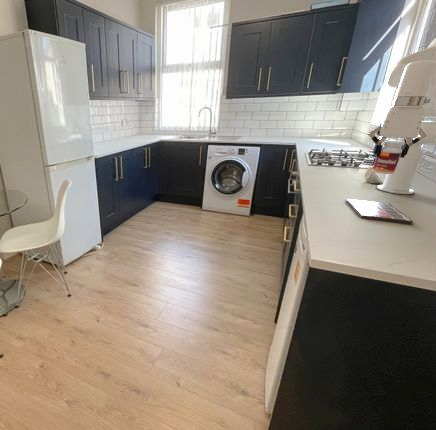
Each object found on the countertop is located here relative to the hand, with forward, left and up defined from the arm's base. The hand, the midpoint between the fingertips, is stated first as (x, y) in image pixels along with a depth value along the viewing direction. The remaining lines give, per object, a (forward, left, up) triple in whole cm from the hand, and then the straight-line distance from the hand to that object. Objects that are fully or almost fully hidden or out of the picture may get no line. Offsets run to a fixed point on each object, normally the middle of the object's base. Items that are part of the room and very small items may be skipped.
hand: (388, 156), depth 100 cm
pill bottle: (0, 0, -6) cm, 6 cm away
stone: (-53, +16, -22) cm, 60 cm away
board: (0, +2, -21) cm, 22 cm away
